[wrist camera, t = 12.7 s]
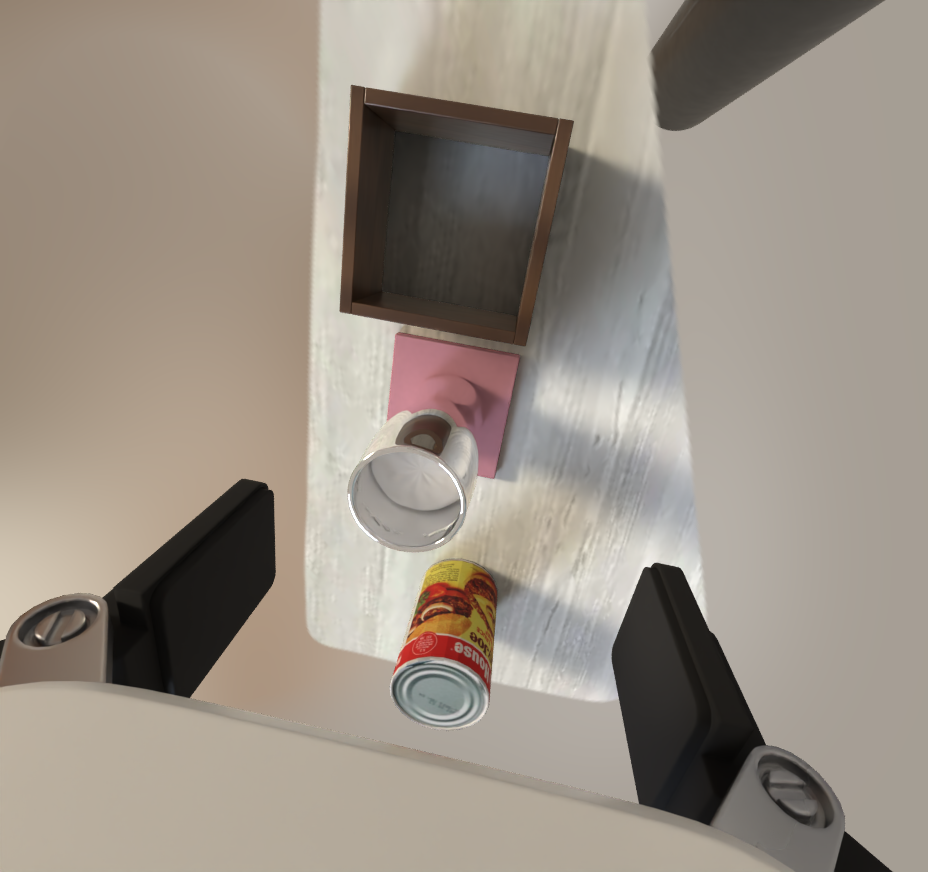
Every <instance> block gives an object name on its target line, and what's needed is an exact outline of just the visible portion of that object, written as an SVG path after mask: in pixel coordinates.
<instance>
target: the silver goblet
mask: <svg viewBox="0 0 928 872" xmlns="http://www.w3.org/2000/svg"><path fill="white" fill-rule="evenodd" d="M483 419H484V404H483V400H482V398H481V396H480V394H479V392H478V391H477V389H476V388H475V387H474V386H473V385H472V384H471V383H469V382H468V381H467V380H465V379H463V378H461V377H458V376H454V375H439V376H435V377H432V378H430V379H428V380H426V381H425V382H424V383H422V384H421V385H420V386H419V388H418V389H417V390H416V392H415V394H414V396H413V399H412V403H411V405H410V406H408V407H407V408H405V409H403V410H402V411H400V412H399V413H397V414H396V415H395V416H393V417H392V418H391V419H389V420H388V421H387V422H386V423H385V424H384V425H383V427H382V428H381V429H380V430H379V431H378V432H377V433H376V435H375V436H374V438H373V439H372V441H371V442H370V444H369V445H368V447H367V448H366V450H365V452H364V454H363V456H362V457H361V459H360V461H359V463H358V465H357V466H356V468H355V469H354V471H353V473H352V475H351V477H350V480H349V484H348V502H349V506H350V510H351V512H352V515H353V517H354V518H355V520H356V522H357V523H358V525H359V526H360V527H361V528H362V529H363V531H364V532H365V533H366V534H368V535H369V536H370V537H371V538H373V539H374V540H375V541H377V542H379V543H380V544H382V545H384V546H386V547H389V548H392V549H395V550H399V551H404V552H424V551H429V550H433V549H436V548H438V547H440V546H442V545H444V544H446V543H447V542H449V541H450V540H451V539H452V538H453V537H454V536H455V535H456V534H457V533H458V531H459V530H460V528H461V527H462V525H463V522H464V520H465V516H466V512H467V509H468V507H469V504H470V501H471V499H472V496H473V493H474V489H475V485H476V482H477V476H478V468H479V451H478V443H477V437H476V433H477V432H478V430H479V429H480V427H481V425H482V422H483Z"/></svg>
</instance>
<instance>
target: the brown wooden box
mask: <svg viewBox="0 0 928 872" xmlns="http://www.w3.org/2000/svg"><path fill="white" fill-rule="evenodd" d="M573 123H574V121H573V120H566V119H558V118H553V117H547V116H540V115H534V114H528V113H522V112H515V111H509V110H503V109H497V108H491V107H484V106H478V105H472V104H466V103H460V102H453V101H447V100H441V99H435V98H429V97H422V96H416V95H410V94H404V93H398V92H391V91H385V90H379V89H373V88H365V87H361V86H355V85H351V92H350V112H349V133H348V153H347V173H346V193H345V214H344V234H343V254H342V274H341V294H340V312H342V313H348V314H353V315H358V316H364V317H369V318H374V319H380V320H385V321H391V322H396V323H401V324H407V325H412V326H418V327H423V328H429V329H434V330H439V331H445V332H450V333H456V334H461V335H466V336H472V337H477V338H483V339H488V340H493V341H499V342H504V343H510V344H513V343H514V344H515V345H520V346H526V342H527V338H528V333H529V328H530V324H531V319H532V314H533V310H534V305H535V300H536V296H537V291H538V286H539V282H540V277H541V272H542V268H543V263H544V258H545V254H546V249H547V244H548V240H549V235H550V230H551V226H552V221H553V216H554V212H555V207H556V202H557V198H558V193H559V188H560V184H561V179H562V174H563V170H564V165H565V160H566V156H567V151H568V146H569V142H570V137H571V133H572V128H573ZM395 130H396V131H399V132H405V133H412V134H418V135H424V136H430V137H436V138H442V139H448V140H454V141H460V142H466V143H472V144H478V145H484V146H490V147H496V148H502V149H508V150H515V151H521V152H527V153H533V154H539V155H545V156H549V155H550V157H549V162H548V167H547V172H546V177H545V182H544V186H543V191H542V196H541V201H540V206H539V211H538V216H537V221H536V226H535V231H534V236H533V241H532V246H531V251H530V256H529V261H528V266H527V271H526V276H525V281H524V286H523V290H522V295H521V300H520V305H519V310H518V315H517V316H515V315H510V314H504V313H499V312H493V311H488V310H482V309H477V308H471V307H466V306H460V305H455V304H449V303H444V302H438V301H433V300H427V299H422V298H416V297H411V296H405V295H400V294H394V293H389V292H383V291H382V283H383V271H384V259H385V247H386V235H387V223H388V211H389V200H390V188H391V176H392V164H393V152H394V140H395Z"/></svg>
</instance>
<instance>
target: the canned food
mask: <svg viewBox="0 0 928 872" xmlns="http://www.w3.org/2000/svg"><path fill="white" fill-rule="evenodd" d="M496 608H497V587H496V584H495V581H494V579H493V578H492V576H491V575H490V574H489V573H488V572H487V571H486V570H485V569H484V568H483V567H481V566H479V565H477V564H475V563H473V562H470V561H467V560H463V559H449V560H443V561H441V562H438V563H436V564H434V565H433V566H431V567H430V568H429V569H428V570H427V571H426V572H425V574H424V575H423V577H422V581H421V584H420V587H419V591H418V594H417V597H416V600H415V604H414V607H413V610H412V614H411V617H410V620H409V624H408V627H407V630H406V634H405V637H404V640H403V644H402V647H401V650H400V653H399V657H398V660H397V663H396V667H395V670H394V673H393V677H392V681H391V684H390V692H391V697H392V699H393V701H394V703H395V706H396V707H397V708H398V709H399V710H400V711H401V713H402V714H404V715H405V716H407V717H408V718H409V719H410V720H412V721H414V722H416V723H418V724H420V725H422V726H424V727H428V728H432V729H435V730H446V731H449V730H460V729H463V728H467V727H470V726H472V725H473V724H475V723H477V722H479V720H481V718H482V717H483V716H484V715H485V714H486V712H487V709H488V707H489V700H490V687H491V674H492V661H493V648H494V634H495V621H496Z"/></svg>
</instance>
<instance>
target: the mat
mask: <svg viewBox="0 0 928 872" xmlns="http://www.w3.org/2000/svg"><path fill="white" fill-rule="evenodd" d="M519 359H520V355H518V354H513V353H508V352H502V351H497V350H491V349H486V348H481V347H475V346H470V345H465V344H459V343H454V342H448V341H443V340H438V339H432V338H427V337H422V336H416V335H411V334H405V333H400V332H399V333H397V334H396V335H395V344H394V354H393V365H392V375H391V385H390V395H389V405H388V415H387V421H388V420H389V419H391V418H392V417H393V416H395V415H396V414H397V413H399V412H400V411H402V410H403V409H405V408H407V407H408V406H410V405H411V403H412V399H413V396H414V394H415V392H416V390H417V389H418V388H419V386H420V385H421V384H422V383H424V382H425V381H426V380H428V379H430V378H432V377H435V376H439V375H454V376H458V377H461V378H463V379H465V380H467V381H468V382H469V383H471V384H472V385H473V386H474V387H475V388H476V389H477V391H478V392H479V394H480V396H481V398H482V400H483V404H484V419H483V422H482V425H481V427H480V429H479V430H478V432H477V433H476V437H477V443H478V451H479V468H478V476H482V477H487V478H492V479H494V477H495V473H496V468H497V463H498V459H499V454H500V449H501V444H502V440H503V435H504V430H505V425H506V421H507V416H508V411H509V407H510V402H511V397H512V392H513V388H514V383H515V378H516V373H517V369H518V364H519Z"/></svg>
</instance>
